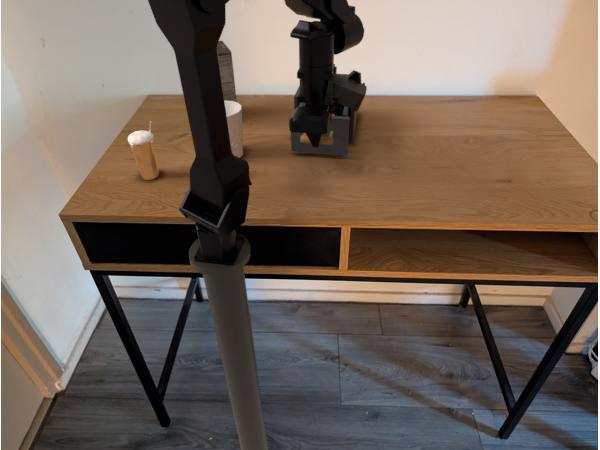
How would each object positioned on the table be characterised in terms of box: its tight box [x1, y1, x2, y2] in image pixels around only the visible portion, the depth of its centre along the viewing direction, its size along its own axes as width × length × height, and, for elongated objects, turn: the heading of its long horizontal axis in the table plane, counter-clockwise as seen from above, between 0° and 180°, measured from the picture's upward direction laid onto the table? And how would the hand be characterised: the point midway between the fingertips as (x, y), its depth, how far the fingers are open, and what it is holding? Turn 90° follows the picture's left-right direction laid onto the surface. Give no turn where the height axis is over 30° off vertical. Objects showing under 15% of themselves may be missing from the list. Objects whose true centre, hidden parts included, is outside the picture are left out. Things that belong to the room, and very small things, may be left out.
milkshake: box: [127, 121, 160, 181], centre depth 81 cm, size 5×5×10 cm
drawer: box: [289, 102, 350, 157], centre depth 89 cm, size 18×11×8 cm, turn 170°
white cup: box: [224, 100, 244, 158], centre depth 87 cm, size 8×8×10 cm
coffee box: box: [217, 40, 238, 103], centre depth 100 cm, size 9×6×16 cm
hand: (315, 146), depth 81 cm, fingers closed
